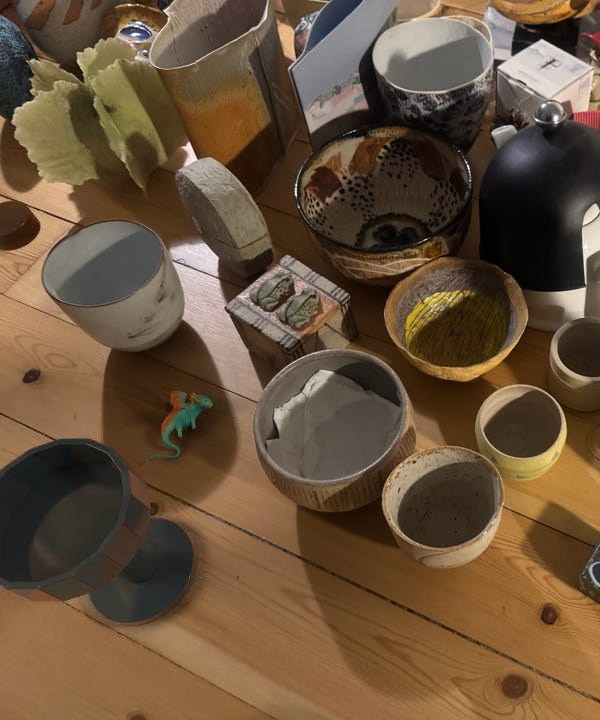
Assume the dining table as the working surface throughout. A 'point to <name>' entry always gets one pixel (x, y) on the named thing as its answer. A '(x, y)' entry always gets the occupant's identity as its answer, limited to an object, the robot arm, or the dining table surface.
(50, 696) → the dining table surface
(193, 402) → the dragon figurine
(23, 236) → the ladle
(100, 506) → the bowl
